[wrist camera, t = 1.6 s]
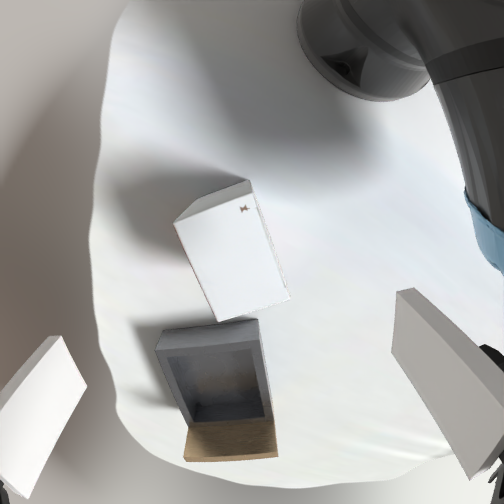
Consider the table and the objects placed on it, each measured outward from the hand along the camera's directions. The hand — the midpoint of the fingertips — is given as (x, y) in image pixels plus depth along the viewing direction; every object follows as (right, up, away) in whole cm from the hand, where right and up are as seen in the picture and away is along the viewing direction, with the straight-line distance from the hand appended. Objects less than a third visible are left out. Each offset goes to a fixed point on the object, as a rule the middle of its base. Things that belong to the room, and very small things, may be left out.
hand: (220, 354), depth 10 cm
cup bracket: (-3, -11, +24) cm, 27 cm away
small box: (0, +6, +19) cm, 20 cm away
